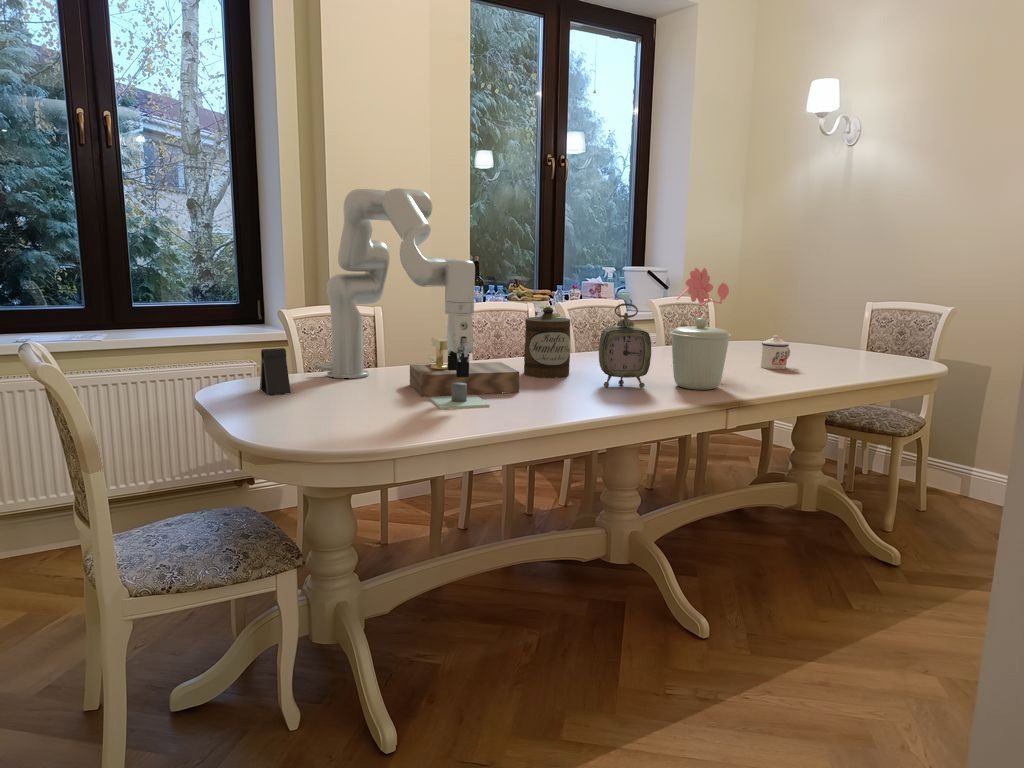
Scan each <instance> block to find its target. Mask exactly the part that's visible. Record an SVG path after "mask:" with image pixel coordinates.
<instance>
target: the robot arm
mask: <svg viewBox="0 0 1024 768" xmlns="http://www.w3.org/2000/svg"><path fill="white" fill-rule="evenodd" d="M343 202H344V203H343V227H342V231H341V237H340V242H339V249H338V253H337V262H338V265H339V267H340V268H341V269H343V271H347V272H348V273H337V274H335V275H333V276H331V277H330V278H329V279H328V281H327V284H326V292H327V297H328V303H329V308H330V325H331V329H330V330H331V359H330V362H327V363H316V369H317V370H316V371H320V370H321V371H327V374H326V375H327V377H329V378H332V377H334V379H344V378H349V379H360V378H365V377H368V376H369V370H366V369H364V331H363V330H364V328H363V327H364V323H363V316H362V313H361V312H360V311H359V309H358V307H357V305H368V304H375V303H377V302H379V301H380V300H381V298H382V296H383V294H384V291H385V290H384V289H385V284H386V281H387V276H388V272H389V266H390V261H391V260H390V251H389V248H388V246H387V245H386V244H385V243H384V242H383V241H381V240H378V239H376V240H375V239H372V235H373V225H372V222H371V221H372V220H374V221H388V222H390V223H391V224H392V227H393V228H394V229H395V231H396V232H397V235H398V236H399V237H400V239H401V243H400V245H399V246H400V247H399V259H400V264H401V265H402V268H403V269H404V271H405V272H406V274H407V276H408V277H409V279H410V280H411V281H412V282H413V283H414V284H415V285H416V286H418V287H423V288H428V287H429V288H430V287H433V288H435V287H441V288H442V287H444V288H445V289H444V315H447V326H446V327H447V328H446V340H447V347H448V351H447V364H448V370H449V371H450V370H456V376H457V377H469V363H470V354H472V353H473V352H474V336H473V335H474V334H473V333H474V332H473V331H474V330H473V316H474V315H475V289H476V288H475V286H476V285H475V284H476V283H475V279H476V266H475V263H474V262H473V261H472V260H468V259H456V258H453V257H440V256H439V257H427V256H426V257H424V255H422V253H421V252H420V250H419V249H418V246H420V245H422V244H423V243H424V242H425V241H426V240H427V239H428V238H429V236H430V234H431V232H432V231H431V225H430V223H429V221H428V219H429V218H430V217H431V215H432V212H433V202H432V200H431V197H430V196H429V195H428V193H426V192H425V191H424V190H419V189H411V188H410V189H409V188H400V187H399V188H391V189H389V190H382V189H373V188H372V189H371V188H357V189H353V190H351V191H349V192H348V193H347V194H346V196H345V199H344V201H343ZM350 272H351V273H350ZM353 272H355V273H353ZM356 272H359V273H356ZM360 272H361V273H360ZM363 272H364V273H363Z"/></svg>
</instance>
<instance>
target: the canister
mask: <svg viewBox="0 0 1024 768" xmlns="http://www.w3.org/2000/svg"><path fill="white" fill-rule="evenodd" d="M707 324H708V320H707V319H706V318H705V317H701V318H700V317H698V318H696V319H695V321H694V325H695V326H679V327H675V328H674V329H672V330H670V331H669V335H671V352H672V353H671V356H672V366H673V367H672V370H673V371H672V372H673V379H674V382H675V384H676V385H677V386H678V387H680V388H683V389H686V390H697V391H698V390H699V391H700V390H701V391H706V390H714V389H716V388H718V387H719V386H720V384H721V381H722V378H723V377H722V376H723V373H724V369H725V368H724V367H725V363H726V358H727V352H728V346H729V340H730V338H732V334H731V333H729V331H727V330H726V329H722V328H718V327H710V326H707ZM705 326H706V327H705Z"/></svg>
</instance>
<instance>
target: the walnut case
mask: <svg viewBox="0 0 1024 768" xmlns="http://www.w3.org/2000/svg"><path fill="white" fill-rule="evenodd" d="M431 365H436V363H427V364H426V363H425V364H424V363H423V364H419V363H417V364H409V386H410V387H411V388H412V389H414V391H415V392H417V393H418V395H420V397H421V398H422V397H424V396H426V397H441V396H442V395H450V396H452V383H466V384H467V394H474V395H486V394H485V393H497V394H503V393H502V392H519V393H520V371H519V370H516V369H515V368H513V367H511V366H509V365H507V364H505V363H503V362H501V361H493V362H469V377H457V376H456V370H450V371H449V370H448V369H447V370H433V369H431ZM443 365H448V363H443ZM440 395H441V396H440Z"/></svg>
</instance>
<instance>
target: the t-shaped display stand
mask: <svg viewBox="0 0 1024 768" xmlns="http://www.w3.org/2000/svg"><path fill="white" fill-rule="evenodd" d="M431 346H432V347H434V348H436V349H435V353H436V354H435V355H428V356H427V358H428V359H429V360H430V361H431V362H433V364H436V365H431V369H433V370H447V369H448V365H443V364H444V351H446V350H449V348H448V347H447V339H445V338H442V337H441V336H431Z"/></svg>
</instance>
